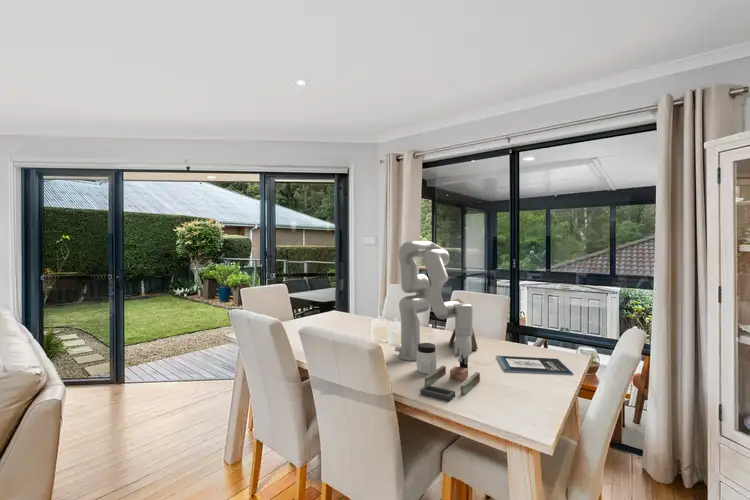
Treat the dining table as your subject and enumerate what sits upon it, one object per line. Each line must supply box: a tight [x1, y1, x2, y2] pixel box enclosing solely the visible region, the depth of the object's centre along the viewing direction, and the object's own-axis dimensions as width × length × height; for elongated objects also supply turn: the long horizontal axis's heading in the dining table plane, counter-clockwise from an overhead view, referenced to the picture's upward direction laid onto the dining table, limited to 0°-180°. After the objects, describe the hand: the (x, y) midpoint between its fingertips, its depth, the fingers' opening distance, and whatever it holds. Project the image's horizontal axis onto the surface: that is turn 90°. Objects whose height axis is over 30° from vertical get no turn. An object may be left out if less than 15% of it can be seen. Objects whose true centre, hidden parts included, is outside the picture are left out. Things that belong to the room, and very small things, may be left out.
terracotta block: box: [449, 365, 469, 382], centre depth 169 cm, size 6×6×4 cm
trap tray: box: [419, 385, 456, 403], centre depth 150 cm, size 12×6×2 cm, turn 56°
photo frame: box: [448, 298, 478, 351], centre depth 220 cm, size 15×22×25 cm
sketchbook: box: [495, 355, 574, 376], centre depth 185 cm, size 22×30×2 cm
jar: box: [416, 342, 437, 375], centre depth 178 cm, size 9×8×12 cm
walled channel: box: [424, 365, 481, 396], centre depth 163 cm, size 17×18×4 cm
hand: (463, 371), depth 173 cm, fingers closed
